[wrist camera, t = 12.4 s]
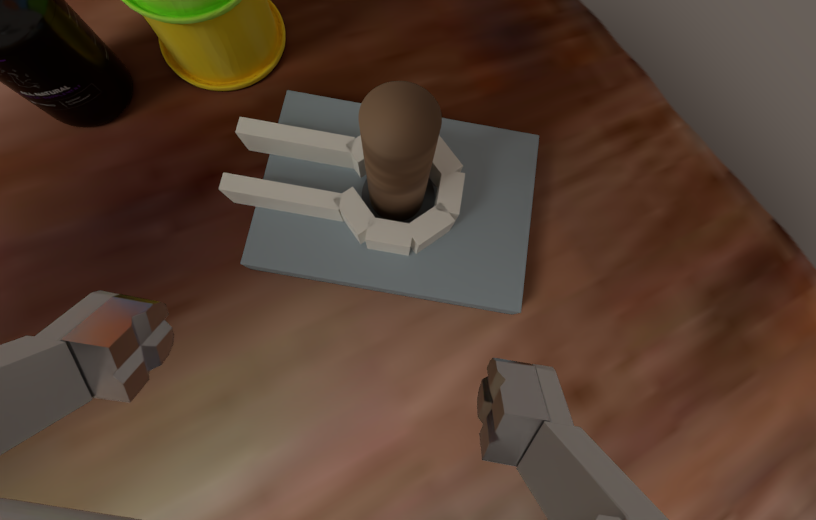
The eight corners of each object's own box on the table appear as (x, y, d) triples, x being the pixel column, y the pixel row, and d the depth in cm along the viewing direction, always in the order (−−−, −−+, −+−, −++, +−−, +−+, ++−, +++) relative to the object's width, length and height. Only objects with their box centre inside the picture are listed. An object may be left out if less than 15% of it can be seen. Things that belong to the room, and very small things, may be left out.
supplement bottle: (84, 147, 30) (-116, 21, 18) (31, 92, 30) (-194, -64, 19) (155, 93, 31) (11, -58, 19) (102, 41, 32) (-67, -134, 20)
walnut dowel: (364, 216, 27) (351, 148, 18) (375, 166, 28) (366, 74, 18) (418, 225, 27) (435, 163, 18) (427, 175, 28) (447, 89, 18)
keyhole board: (229, 265, 28) (199, 251, 24) (274, 102, 31) (255, 63, 27) (512, 314, 28) (534, 309, 24) (530, 148, 31) (552, 116, 27)
